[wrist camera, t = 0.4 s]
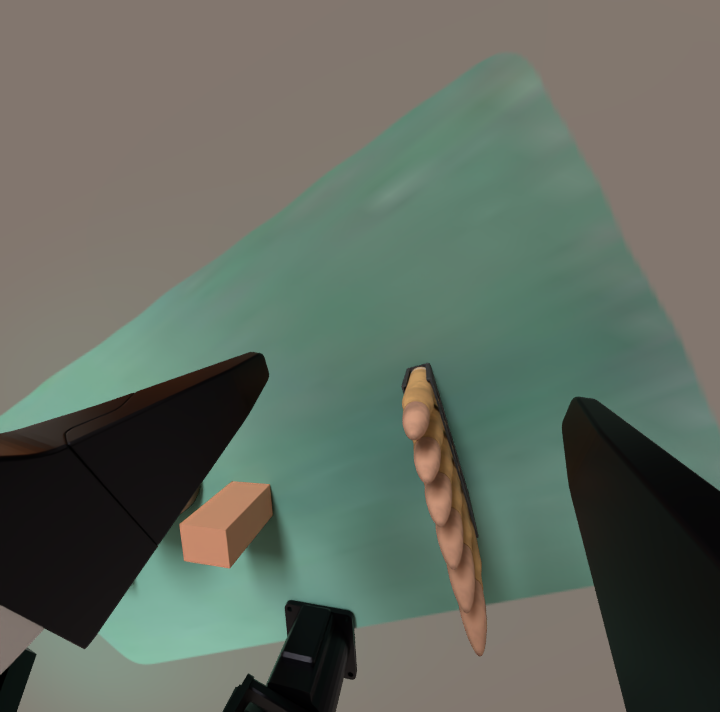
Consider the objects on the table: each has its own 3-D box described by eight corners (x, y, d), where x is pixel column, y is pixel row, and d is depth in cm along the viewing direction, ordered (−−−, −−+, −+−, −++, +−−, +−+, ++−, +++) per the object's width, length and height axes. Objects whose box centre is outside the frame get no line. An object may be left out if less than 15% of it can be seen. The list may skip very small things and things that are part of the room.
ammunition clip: (406, 368, 22) (382, 418, 11) (429, 362, 22) (431, 407, 10) (444, 497, 23) (461, 677, 11) (468, 493, 22) (512, 677, 11)
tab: (272, 514, 27) (229, 568, 21) (235, 510, 28) (184, 561, 22) (269, 484, 26) (225, 529, 21) (232, 481, 27) (179, 524, 22)
